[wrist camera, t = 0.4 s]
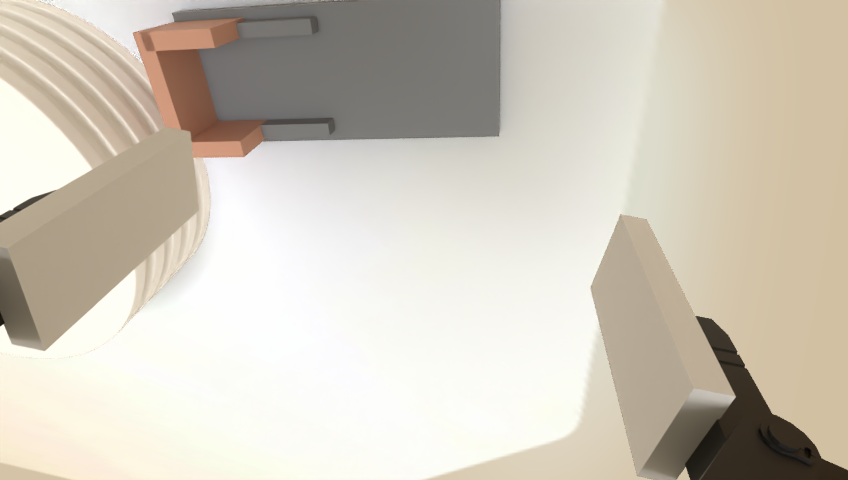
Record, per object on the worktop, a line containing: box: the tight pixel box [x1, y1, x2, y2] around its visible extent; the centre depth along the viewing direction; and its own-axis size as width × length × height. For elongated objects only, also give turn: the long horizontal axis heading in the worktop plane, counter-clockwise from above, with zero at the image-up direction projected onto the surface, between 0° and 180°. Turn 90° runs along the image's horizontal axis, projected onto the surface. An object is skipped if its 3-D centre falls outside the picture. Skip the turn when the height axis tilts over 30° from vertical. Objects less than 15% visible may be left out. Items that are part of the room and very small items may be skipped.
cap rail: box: [133, 0, 500, 158], centre depth 36 cm, size 10×24×6 cm, turn 94°
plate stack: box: [0, 0, 210, 359], centre depth 42 cm, size 28×28×12 cm
